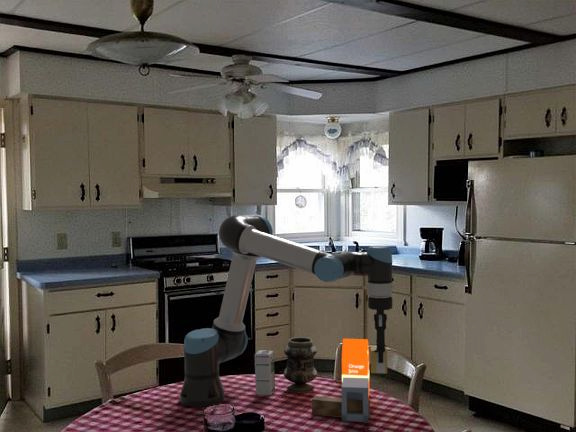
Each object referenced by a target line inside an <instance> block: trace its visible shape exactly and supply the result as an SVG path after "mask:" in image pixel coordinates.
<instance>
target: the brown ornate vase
mask: <svg viewBox="0 0 576 432" xmlns="http://www.w3.org/2000/svg"><path fill="white" fill-rule="evenodd" d="M283 352H284V355H285V356H286V357H287V359H286V360H287V363H286V367H285V369H284V370H283V376H284V378H285V379H286V380H287V381H288V382H290V383H292V384H290V385H288V386H287V387H286V390H287V391H288V392H289V393H293V394H308V393H311V392H314V390H315V387H314V386H313V385H311V384H310V382H312V381H314V380H315V379H316V378H317V376H318V371H317V370H316V368H315V365H314V357H315V356H316V354H317V353H318V349H317V347H316V345H315V344H313V339H311V338H310V337H307V336H306V337H305V336H295V337H291V338H289V339H288V343H287V345H286V346H285V347H284V348H283Z"/></svg>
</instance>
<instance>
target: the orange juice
mask: <svg viewBox="0 0 576 432" xmlns="http://www.w3.org/2000/svg"><path fill="white" fill-rule="evenodd" d="M369 348H370V347H369V340H368V339H367V338H365V339H364V338H343V339H342V347H341V349H342V351H341V383H342V382H343V378H368V398H369V397H370V352H369V351H370V350H369Z"/></svg>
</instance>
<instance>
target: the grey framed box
mask: <svg viewBox="0 0 576 432" xmlns="http://www.w3.org/2000/svg"><path fill="white" fill-rule="evenodd" d="M341 398H342V417H341V421H342V422H359V423H360V422H364V423H368V422H369V419H368V401H370V400H369V398H368V378H343V382H342V381H341ZM347 399H353V400H363V413H347Z"/></svg>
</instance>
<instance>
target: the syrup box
mask: <svg viewBox="0 0 576 432" xmlns="http://www.w3.org/2000/svg"><path fill="white" fill-rule="evenodd" d="M254 372H255V373H254V375H255V379H254V380H255V381H254V382H255V394H256V395H259V396H272V395H273V393H275V391H276V383H275V380H276V379H275V351H274V350H270V349H260V350H258V351H257V352H256V353H255V354H254Z"/></svg>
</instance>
